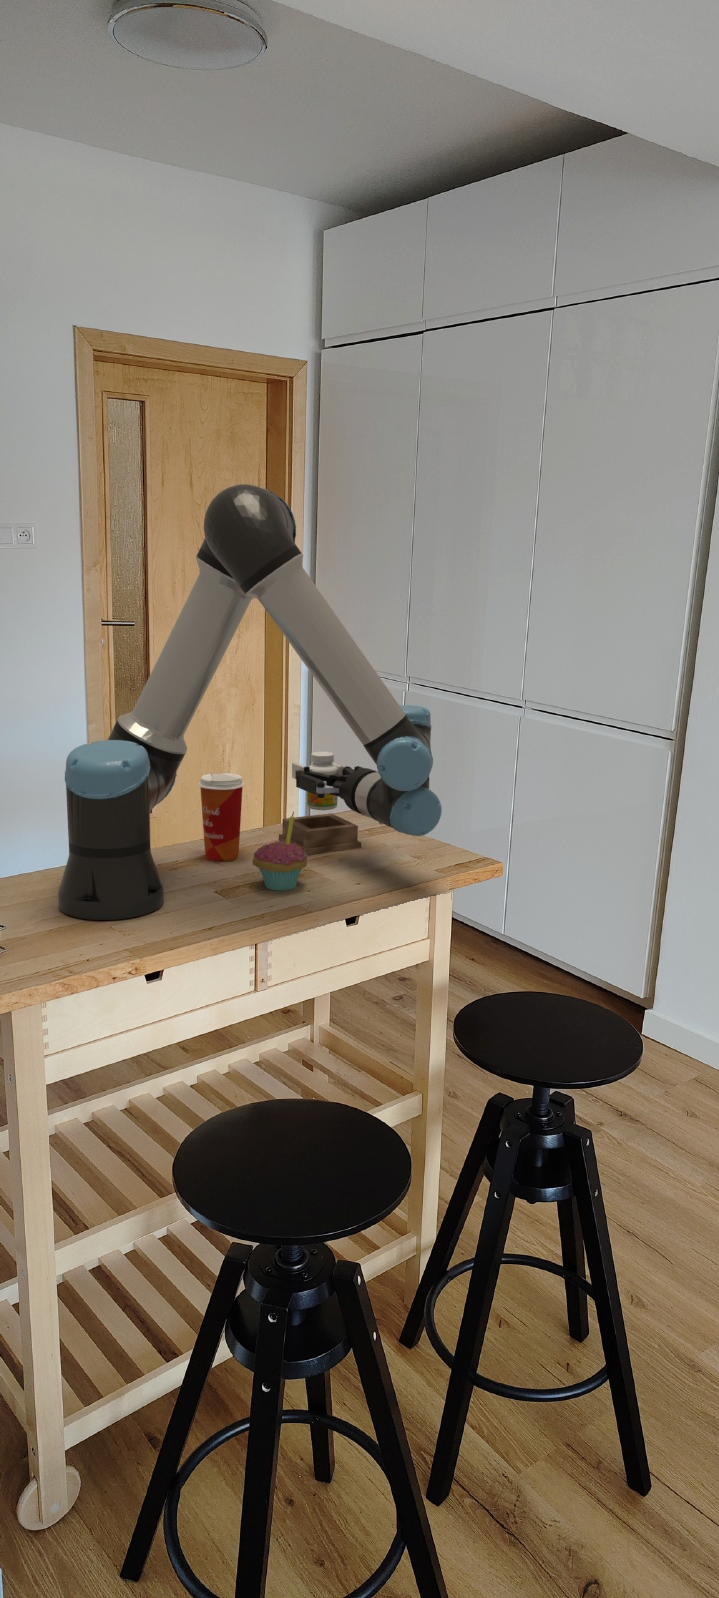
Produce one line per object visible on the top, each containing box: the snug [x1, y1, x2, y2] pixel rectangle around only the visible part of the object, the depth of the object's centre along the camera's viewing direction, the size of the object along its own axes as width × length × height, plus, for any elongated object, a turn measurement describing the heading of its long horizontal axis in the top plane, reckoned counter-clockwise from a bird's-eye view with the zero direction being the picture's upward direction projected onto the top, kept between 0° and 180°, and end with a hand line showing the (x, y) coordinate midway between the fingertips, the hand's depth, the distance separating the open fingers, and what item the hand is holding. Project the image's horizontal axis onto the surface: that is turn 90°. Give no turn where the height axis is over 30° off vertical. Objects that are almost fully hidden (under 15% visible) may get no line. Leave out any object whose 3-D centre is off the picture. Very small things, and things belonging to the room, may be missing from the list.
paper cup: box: [197, 772, 245, 862], centre depth 182 cm, size 8×8×14 cm
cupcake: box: [251, 811, 308, 892], centre depth 168 cm, size 9×8×12 cm
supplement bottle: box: [306, 751, 338, 811], centre depth 191 cm, size 5×5×10 cm
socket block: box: [278, 812, 362, 856], centre depth 193 cm, size 11×11×4 cm
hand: (309, 768), depth 195 cm, fingers closed on supplement bottle, 5 cm apart
